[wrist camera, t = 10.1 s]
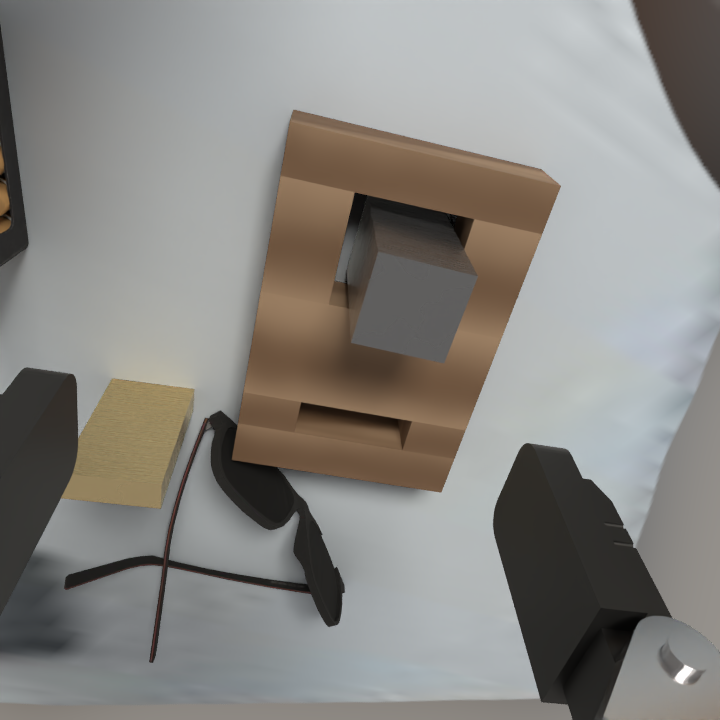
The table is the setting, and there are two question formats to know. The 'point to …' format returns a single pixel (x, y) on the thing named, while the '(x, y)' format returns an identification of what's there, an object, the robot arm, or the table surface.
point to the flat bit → (131, 444)
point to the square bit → (407, 280)
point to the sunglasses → (265, 506)
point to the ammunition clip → (9, 178)
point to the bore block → (331, 307)
